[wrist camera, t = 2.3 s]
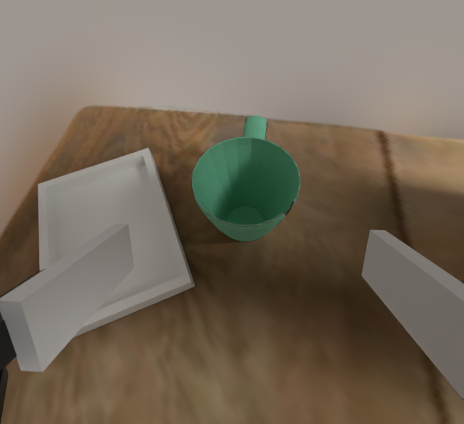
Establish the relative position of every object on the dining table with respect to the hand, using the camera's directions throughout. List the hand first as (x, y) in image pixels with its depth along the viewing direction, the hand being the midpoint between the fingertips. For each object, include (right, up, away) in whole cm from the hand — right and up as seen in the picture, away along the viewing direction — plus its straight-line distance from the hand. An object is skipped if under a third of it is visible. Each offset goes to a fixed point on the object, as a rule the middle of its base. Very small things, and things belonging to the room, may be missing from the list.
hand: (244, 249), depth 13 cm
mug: (+1, +3, +18) cm, 19 cm away
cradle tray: (-16, -1, +17) cm, 23 cm away
